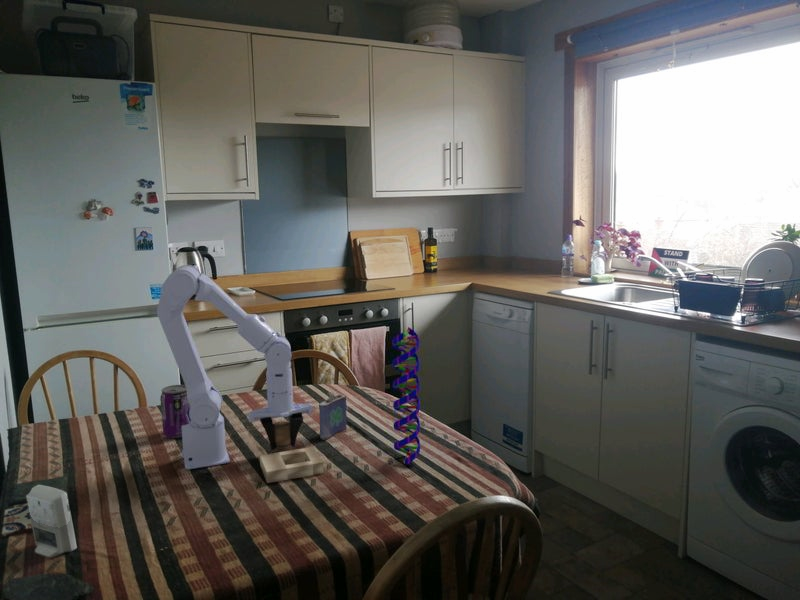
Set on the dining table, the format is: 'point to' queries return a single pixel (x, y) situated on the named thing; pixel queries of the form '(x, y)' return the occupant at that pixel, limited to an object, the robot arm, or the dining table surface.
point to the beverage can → (174, 410)
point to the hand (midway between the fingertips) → (282, 446)
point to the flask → (332, 416)
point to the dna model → (407, 394)
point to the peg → (282, 436)
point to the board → (291, 464)
